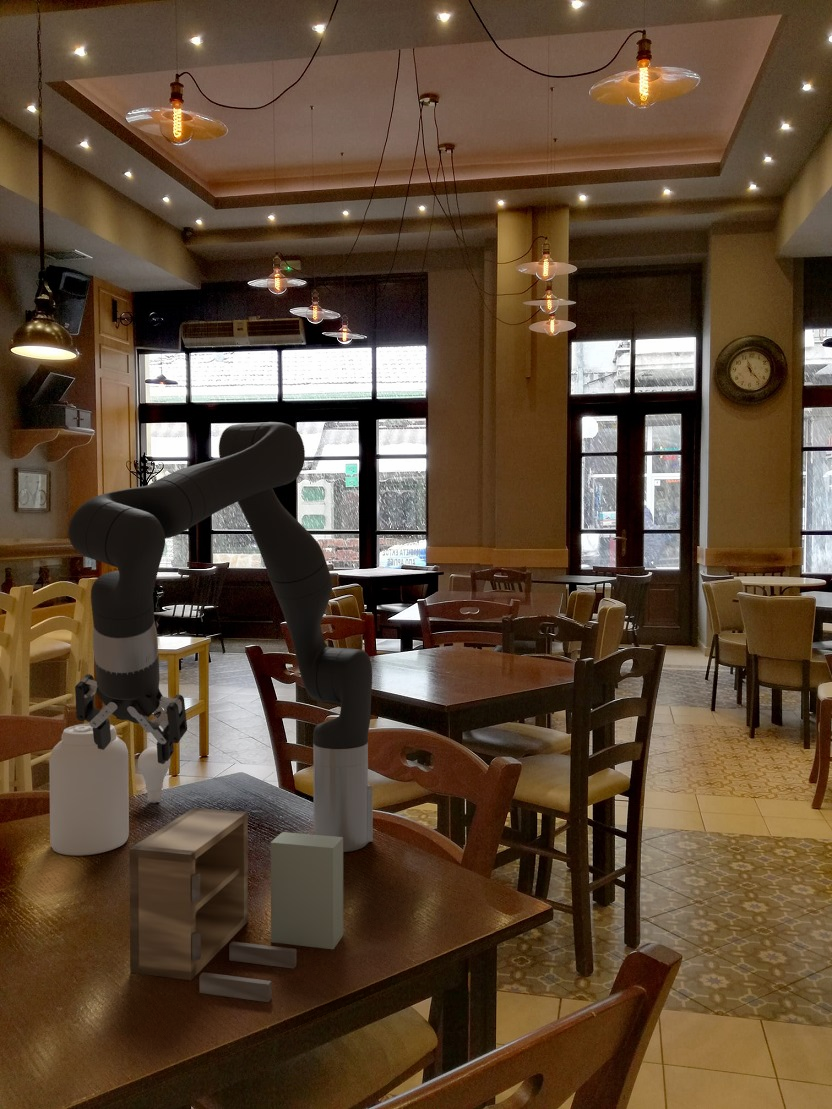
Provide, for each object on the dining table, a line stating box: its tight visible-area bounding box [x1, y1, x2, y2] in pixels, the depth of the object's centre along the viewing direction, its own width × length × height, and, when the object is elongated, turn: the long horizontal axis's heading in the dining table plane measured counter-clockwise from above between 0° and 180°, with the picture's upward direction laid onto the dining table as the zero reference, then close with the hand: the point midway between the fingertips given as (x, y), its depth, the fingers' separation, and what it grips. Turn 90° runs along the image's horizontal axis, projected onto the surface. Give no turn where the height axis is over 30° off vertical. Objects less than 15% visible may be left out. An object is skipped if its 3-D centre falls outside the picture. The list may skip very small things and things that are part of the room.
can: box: [48, 722, 130, 856], centre depth 148 cm, size 12×12×20 cm
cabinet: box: [128, 807, 297, 1003], centre depth 109 cm, size 18×19×15 cm
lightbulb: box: [137, 745, 171, 804], centre depth 170 cm, size 6×6×11 cm
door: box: [270, 831, 344, 950], centre depth 114 cm, size 5×8×13 cm, turn 77°
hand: (134, 752), depth 115 cm, fingers open, 8 cm apart
